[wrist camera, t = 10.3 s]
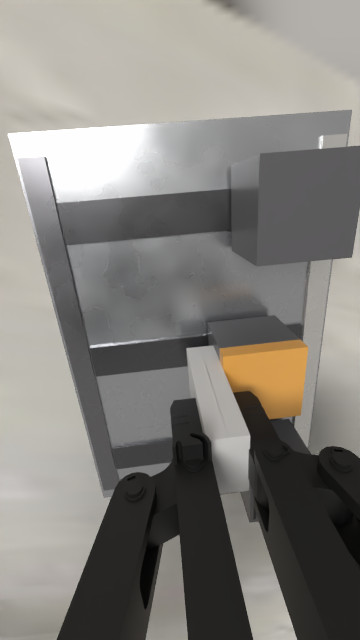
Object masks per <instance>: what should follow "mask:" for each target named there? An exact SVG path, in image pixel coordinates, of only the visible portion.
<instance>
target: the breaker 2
mask: <svg viewBox="0 0 360 640" xmlns="http://www.w3.org/2000/svg"><path fill="white" fill-rule="evenodd" d="M359 209H360V146H350V147H337V148H324V149H311V150H298V151H285V152H272V153H260V154H257V155H255V156H252V157H250V158H248V159H245V160H243V161H241V162H238V163H236V164H234V165H231V233H232V251H233V252H235V253H236V254H238V255H239V256H241V257H242V258H244V259H246V260H247V261H249V262H250V263H252V264H253V265H255V266H256V267H258V266H268V265H279V264H289V263H299V262H309V261H320V260H330V259H340V258H351V257H352V254H353V248H354V241H355V235H356V228H357V222H358V215H359Z"/></svg>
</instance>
